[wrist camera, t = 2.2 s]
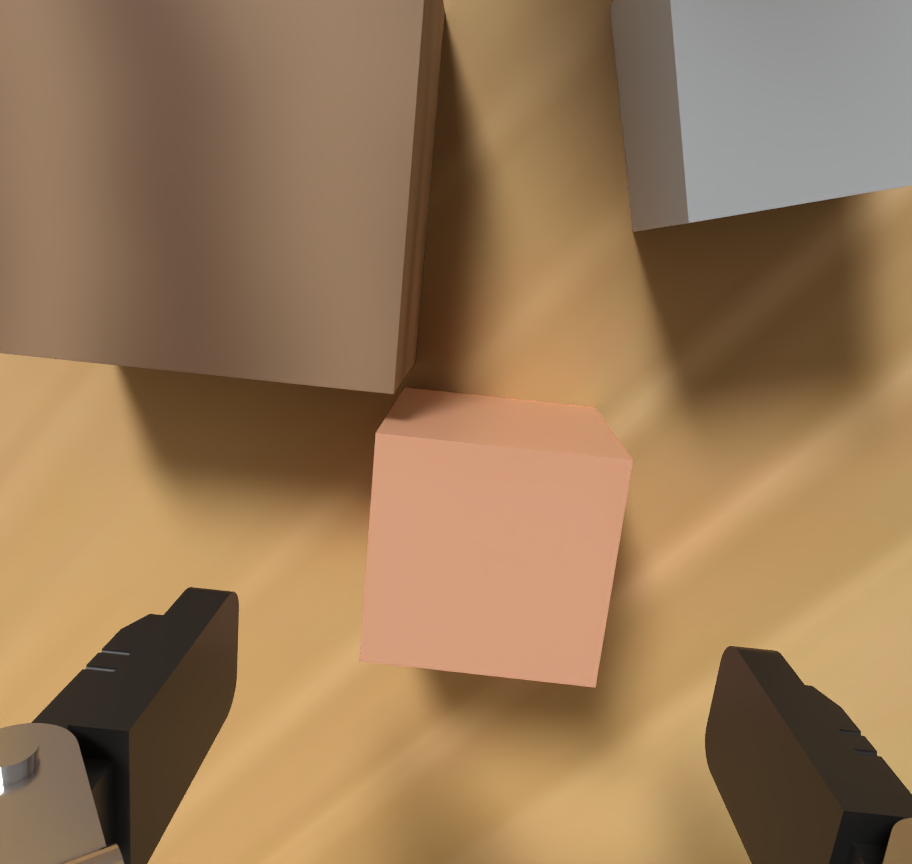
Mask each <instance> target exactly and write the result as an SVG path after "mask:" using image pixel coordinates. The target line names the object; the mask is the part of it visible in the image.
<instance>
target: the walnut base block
mask: <svg viewBox="0 0 912 864" xmlns="http://www.w3.org/2000/svg"><path fill="white" fill-rule="evenodd" d="M444 17H445V10H444V4H443V0H0V353H5V354H14V355H24V356H34V357H43V358H53V359H62V360H72V361H81V362H91V363H100V364H110V365H119V366H129V367H139V368H148V369H158V370H167V371H177V372H186V373H196V374H205V375H215V376H224V377H234V378H244V379H253V380H263V381H272V382H282V383H291V384H301V385H310V386H320V387H329V388H339V389H349V390H358V391H368V392H377V393H387V394H394V393H395V392H396V390H397V389H398V387H399V386H400V384H401V383H402V381H403V380H404V379H405V377H406V376H407V374H408V373H409V371H410V370H411V368H412V367H413V366H414V364H415V363H416V351H417V339H418V327H419V315H420V303H421V291H422V279H423V268H424V256H425V244H426V232H427V220H428V208H429V196H430V184H431V172H432V160H433V148H434V136H435V124H436V112H437V100H438V88H439V77H440V65H441V53H442V41H443V29H444Z"/></svg>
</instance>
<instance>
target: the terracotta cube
mask: <svg viewBox="0 0 912 864" xmlns="http://www.w3.org/2000/svg"><path fill="white" fill-rule="evenodd" d="M632 464H633V459H632V458H631V457H630V455H629V454H628V452H627V451H626V450H625V448H624V447H623V445H622V444H621V443H620V441H619V440H618V438H617V437H616V436H615V434H614V433H613V431H612V430H611V429H610V427H609V426H608V424H607V423H606V422H605V420H604V419H603V417H602V416H601V415H600V413H599V412H598V410H597V409H596V408H595V407H589V406H579V405H569V404H560V403H550V402H540V401H531V400H521V399H512V398H502V397H492V396H483V395H473V394H463V393H454V392H444V391H435V390H425V389H415V388H406V387H405V388H404V389H403V391H402V392H401V394H400V396H399V397H398V399H397V400H396V402H395V403H394V405H393V407H392V408H391V410H390V411H389V413H388V414H387V416H386V418H385V419H384V421H383V422H382V424H381V425H380V427H379V429H378V430H377V432H376V434H375V448H374V462H373V476H372V490H371V505H370V519H369V533H368V547H367V561H366V575H365V589H364V603H363V617H362V631H361V645H360V659H359V661H362V662H371V663H380V664H389V665H398V666H406V667H415V668H424V669H433V670H442V671H451V672H460V673H469V674H478V675H487V676H496V677H505V678H514V679H523V680H532V681H541V682H550V683H559V684H568V685H577V686H586V687H596V681H597V675H598V669H599V663H600V657H601V651H602V645H603V639H604V633H605V627H606V621H607V615H608V609H609V603H610V597H611V591H612V585H613V579H614V573H615V567H616V561H617V555H618V549H619V543H620V537H621V530H622V524H623V518H624V512H625V506H626V500H627V494H628V488H629V482H630V476H631V470H632Z"/></svg>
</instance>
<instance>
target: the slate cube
mask: <svg viewBox="0 0 912 864" xmlns="http://www.w3.org/2000/svg"><path fill="white" fill-rule="evenodd" d="M610 13H611V23H612V33H613V43H614V52H615V62H616V72H617V82H618V92H619V101H620V111H621V121H622V131H623V141H624V150H625V160H626V170H627V180H628V190H629V199H630V209H631V219H632V229H633V232H636V231H642V230H649V229H655V228H661V227H667V226H674V225H680V224H686V223H692V222H698V221H704V220H710V219H716V218H722V217H728V216H734V215H739V214H745V213H751V212H757V211H763V210H769V209H775V208H781V207H787V206H792V205H798V204H804V203H810V202H816V201H822V200H828V199H834V198H840V197H845V196H851V195H857V194H863V193H869V192H875V191H881V190H887V189H893V188H898V187H904V186H910V185H912V0H614V1H613V3H612V5H611V7H610Z"/></svg>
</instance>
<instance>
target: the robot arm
mask: <svg viewBox="0 0 912 864" xmlns="http://www.w3.org/2000/svg"><path fill="white" fill-rule="evenodd" d="M238 616H239V602H238V596H237V594H236V593H235V592H231V591H221V590H212V589H202V588H193V587H189V588H187V589H186V590H185V591H184V592H183V594H182V595H181V596H180V597H179V598H178V599H177V600H176V602H175V603H174V604H173V605H172V606H171V607H170V608H169V610H168V611H167V612H166V613H165V614H164V615H155V614H149V615H147V616H145V617H143V618H141V619H139V620H138V621H136V622H134V623H132V624H130V625H128V626H126V627H124V628H122V629H121V630H120V631H119V632H118V633H117V634H116V635H115V636H114V637H113V638H112V639H111V640H110V641H109V642H108V643H107V644H106V645H105V646H104V648H103V649H102V652H101V653H98V654H97V655H96V656H95V657H94V658H93V659H92V660H91V661H90V662H89V663H88V664H87V667H86V669H85V670H84V669H82V670H81V672H80V673H79V674H78V675H77V676H76V677H75V678H74V679H73V680H72V681H71V682H70V683H69V684H68V685H67V686H66V687H65V688H64V689H63V690H62V691H61V692H60V693H59V694H58V696H57V697H56V698H55V699H54V700H53V701H52V702H51V703H50V704H49V705H48V706H47V707H46V708H45V709H44V710H43V711H42V712H41V713H40V714H39V715H38V716H37V717H36V718H35V720H34V721H33V722H32V723H27V724H19V725H13V726H9V727H5V728H1V729H0V864H147V863H148V861H149V859H150V858H151V856H152V854H153V852H154V850H155V848H156V847H157V845H158V843H159V841H160V839H161V837H162V835H163V834H164V832H165V830H166V828H167V826H168V824H169V823H170V821H171V819H172V817H173V815H174V813H175V812H176V810H177V808H178V806H179V804H180V802H181V801H182V799H183V797H184V795H185V793H186V791H187V790H188V788H189V786H190V784H191V782H192V780H193V779H194V777H195V775H196V773H197V771H198V769H199V768H200V766H201V764H202V762H203V760H204V758H205V756H206V755H207V753H208V751H209V749H210V747H211V745H212V744H213V742H214V740H215V738H216V736H217V734H218V733H219V731H220V729H221V727H222V725H223V723H224V722H225V720H226V718H227V716H228V713H229V711H230V708H231V705H232V701H233V697H234V693H235V687H236V679H237V651H238ZM705 750H706V758H707V763H708V767H709V770H710V772H711V775H712V777H713V779H714V781H715V783H716V786H717V788H718V790H719V792H720V794H721V797H722V799H723V801H724V803H725V805H726V808H727V810H728V812H729V814H730V816H731V819H732V821H733V823H734V825H735V827H736V830H737V832H738V834H739V836H740V838H741V841H742V843H743V845H744V847H745V850H746V852H747V854H748V856H749V858H750V861H751V863H752V864H912V794H911V793H910V792H909V790H908V789H907V788H906V787H905V786H904V784H903V783H902V782H901V781H900V779H899V778H898V777H897V776H896V774H895V773H894V772H893V771H892V769H891V768H890V767H889V766H888V765H887V763H886V762H885V761H884V760H883V758H882V757H880V756H877V751H876V750H875V748H874V747H873V746H872V745H871V744H870V742H869V741H868V740H867V739H866V737H865V736H861V731H860V730H859V729H858V727H857V726H856V725H855V724H854V723H853V721H852V720H851V719H850V718H849V716H848V715H847V714H846V713H845V711H844V710H843V709H842V708H841V707H840V706H839V705H837V704H836V703H834V702H833V701H832V700H830V699H829V698H828V697H826V696H825V695H824V694H822V693H821V692H819V691H818V690H817V689H815V688H814V687H813V686H808V685H804V683H803V682H802V681H801V680H800V678H799V677H798V676H797V674H796V673H795V672H794V670H793V669H792V668H791V666H790V665H789V664H788V663H787V661H786V660H785V659H784V657H783V656H782V655H781V654H780V653H779V652H777V651H773V650H764V649H754V648H745V647H735V646H729V647H728V648H726V650H725V651H724V653H723V655H722V658H721V662H720V667H719V671H718V676H717V681H716V685H715V690H714V694H713V699H712V704H711V708H710V713H709V717H708V722H707V727H706V734H705Z"/></svg>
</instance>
